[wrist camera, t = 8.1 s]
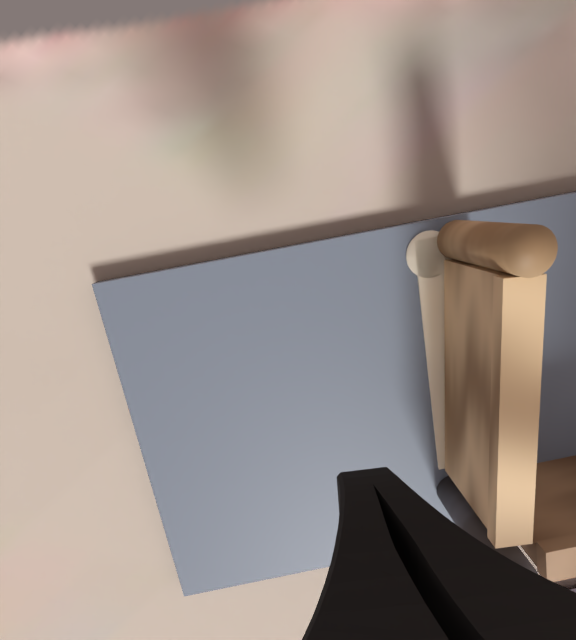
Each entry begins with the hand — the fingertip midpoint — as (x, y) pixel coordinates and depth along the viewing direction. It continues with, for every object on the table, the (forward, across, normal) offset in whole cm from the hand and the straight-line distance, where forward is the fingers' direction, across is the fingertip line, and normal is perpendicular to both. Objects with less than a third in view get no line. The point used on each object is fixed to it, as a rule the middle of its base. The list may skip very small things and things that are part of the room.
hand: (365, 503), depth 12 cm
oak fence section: (+8, -6, -1) cm, 10 cm away
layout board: (+9, -6, +2) cm, 11 cm away
